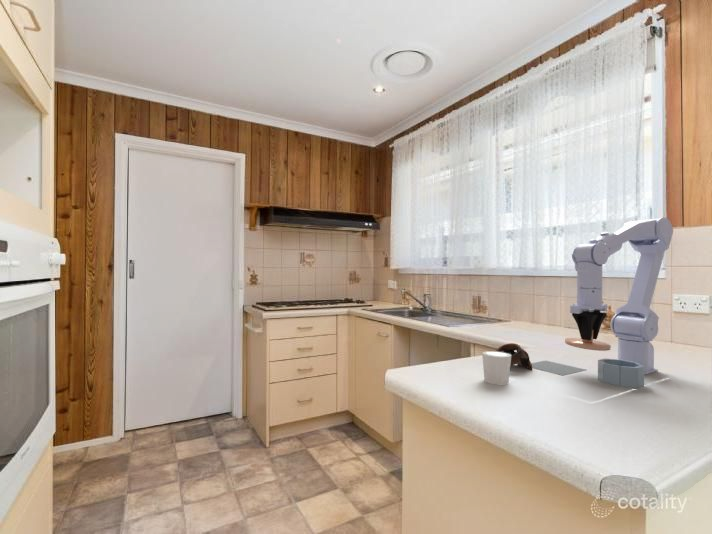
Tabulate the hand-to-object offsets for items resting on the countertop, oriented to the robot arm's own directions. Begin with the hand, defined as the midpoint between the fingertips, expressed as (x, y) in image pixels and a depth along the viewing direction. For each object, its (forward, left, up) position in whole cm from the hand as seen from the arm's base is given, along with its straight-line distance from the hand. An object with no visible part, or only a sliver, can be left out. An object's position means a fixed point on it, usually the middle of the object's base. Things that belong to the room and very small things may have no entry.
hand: (589, 339), depth 99 cm
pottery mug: (+12, -15, -10) cm, 21 cm away
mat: (+1, -9, -10) cm, 13 cm away
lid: (0, -1, -2) cm, 2 cm away
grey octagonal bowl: (-1, +7, -10) cm, 12 cm away
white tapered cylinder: (+26, -9, -10) cm, 29 cm away
